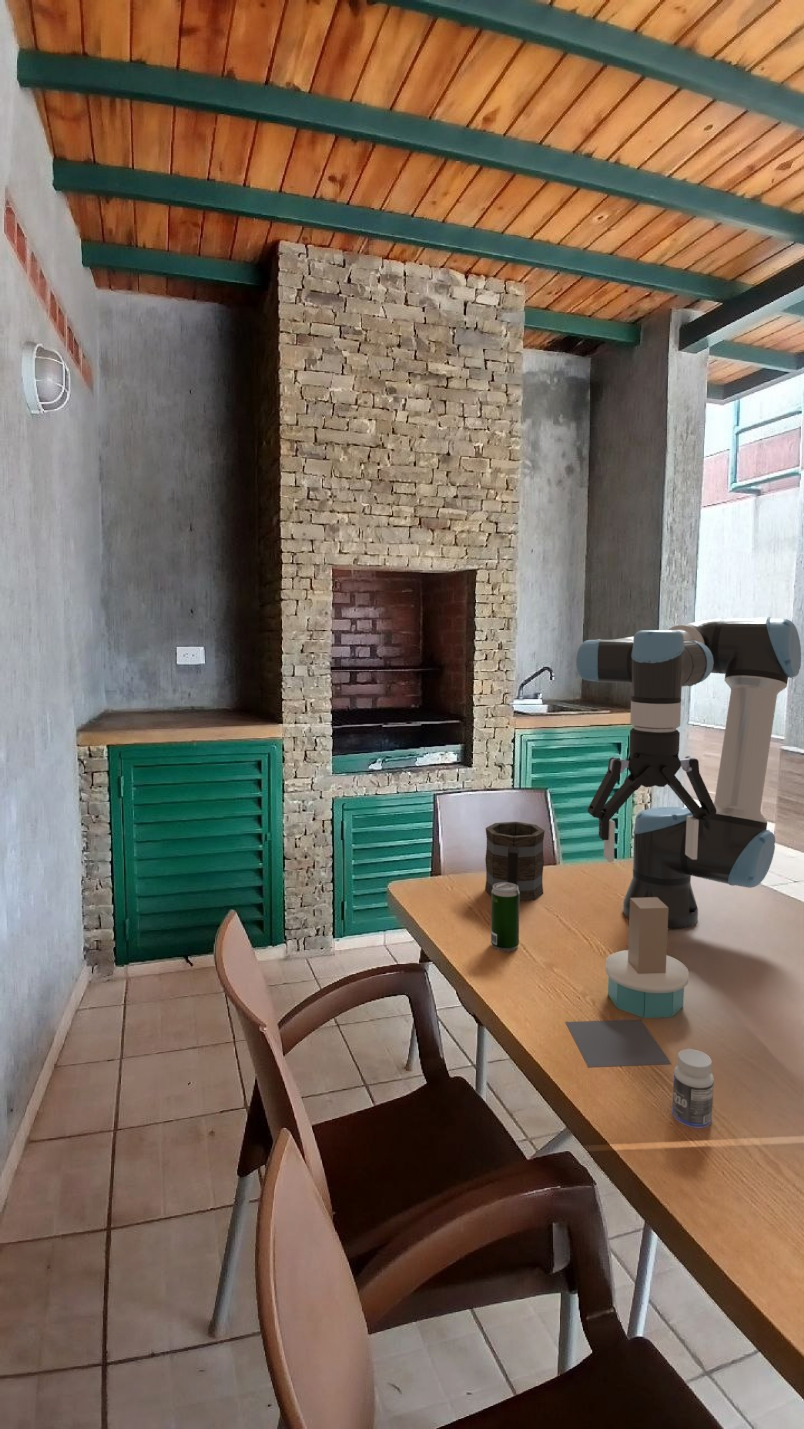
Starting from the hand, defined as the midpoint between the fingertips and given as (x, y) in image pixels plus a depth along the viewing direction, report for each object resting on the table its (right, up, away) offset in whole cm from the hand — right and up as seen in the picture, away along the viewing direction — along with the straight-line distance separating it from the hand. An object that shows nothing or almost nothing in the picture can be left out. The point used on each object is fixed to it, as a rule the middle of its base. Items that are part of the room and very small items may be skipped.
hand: (649, 858), depth 122 cm
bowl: (0, -24, +3) cm, 25 cm away
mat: (-8, -26, -10) cm, 29 cm away
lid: (0, -20, +2) cm, 20 cm away
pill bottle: (-3, -28, -26) cm, 39 cm away
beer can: (-20, -22, +25) cm, 39 cm away
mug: (-15, -19, +51) cm, 56 cm away
